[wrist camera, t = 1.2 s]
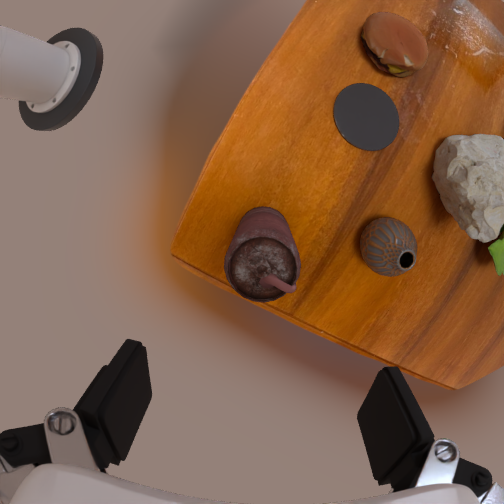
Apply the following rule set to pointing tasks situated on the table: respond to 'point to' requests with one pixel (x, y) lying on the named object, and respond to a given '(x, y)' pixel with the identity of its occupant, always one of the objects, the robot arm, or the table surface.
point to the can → (262, 257)
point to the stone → (472, 182)
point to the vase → (388, 247)
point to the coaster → (366, 117)
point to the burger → (394, 44)
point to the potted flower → (498, 253)
